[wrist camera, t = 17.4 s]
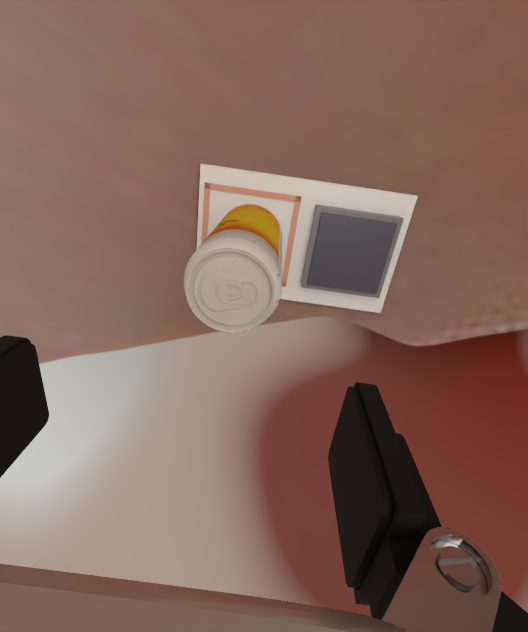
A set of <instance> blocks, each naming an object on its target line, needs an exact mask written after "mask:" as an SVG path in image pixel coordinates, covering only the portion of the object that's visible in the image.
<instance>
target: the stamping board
mask: <svg viewBox="0 0 528 632" xmlns="http://www.w3.org/2000/svg"><path fill="white" fill-rule="evenodd" d="M417 197H418V196H416V195H412V194H406V193H399V192H392V191H385V190H379V189H372V188H365V187H358V186H352V185H345V184H338V183H331V182H325V181H318V180H311V179H305V178H298V177H291V176H284V175H278V174H271V173H264V172H257V171H251V170H244V169H237V168H230V167H224V166H217V165H210V164H203V163H202V164H201V166H200V187H199V208H198V230H197V249H198V248H199V246H200V245H201V244H202V243H203V242H204V240H205V239H206V238H207V237H208V236H209V235H210V233H211V232H212V231H213V230H214V229H215V227H216V226H217V225H218V224H219V223H220V221H221V220H222V219H223V218H224V217H225V216H226V214H227V213H228V212H229V211H231V210H232V209H234V208H235V207H238V206H240V205H245V204H254V205H259V206H262V207H264V208H266V209H267V210H269V211H270V212H271V213H272V214H273V215H274V216H275V217H276V219H277V220H278V222H279V224H280V227H281V231H282V293H281V298H280V299H285V300H292V301H299V302H306V303H313V304H321V305H328V306H335V307H342V308H349V309H356V310H363V311H370V312H377V313H381V310H382V307H383V304H384V301H385V298H386V294H387V291H388V288H389V285H390V282H391V279H392V276H393V272H394V269H395V266H396V263H397V260H398V257H399V254H400V250H401V247H402V244H403V241H404V238H405V235H406V232H407V229H408V225H409V222H410V219H411V216H412V213H413V210H414V207H415V203H416V200H417Z"/></svg>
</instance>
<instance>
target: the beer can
mask: <svg viewBox="0 0 528 632" xmlns="http://www.w3.org/2000/svg"><path fill="white" fill-rule="evenodd" d="M183 283H184V290H185V294H186V298H187V301H188V304H189V306H190V308H191V310H192V312H193V313H194V314H195V316H196V317H197V318H198V319H199V320H200V321H201V322H203V323H204V324H205V325H207V326H209V327H210V328H212V329H215V330H218V331H221V332H226V333H240V332H245V331H248V330H250V329H253V328H255V327H257V326H258V325H260V324H261V323H262V322H264V321H265V320H266V319H267V318H269V317H270V316H271V314H272V313H273V312H274V311H275V309H276V307H277V306H278V303H279V301H280V298H281V293H282V231H281V227H280V224H279V222H278V220H277V219H276V217H275V216H274V215H273V214H272V213H271V212H270V211H269V210H267V209H266V208H264V207H262V206H259V205H254V204H245V205H240V206H238V207H235V208H234V209H232V210H231V211H229V212H228V213H227V214H226V216H225V217H224V218H223V219H222V220H221V221H220V223H219V224H218V225H217V226H216V227H215V229H214V230H213V231H212V232H211V233H210V235H209V236H208V237H207V238H206V239H205V240H204V242H203V243H202V244H201V245H200V246H199V248H198V249H197V250H196V251H195V252H194V254H193V255H192V256H191V258H190V259H189V261H188V263H187V265H186V268H185V272H184V282H183Z"/></svg>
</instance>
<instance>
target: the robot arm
mask: <svg viewBox="0 0 528 632" xmlns="http://www.w3.org/2000/svg"><path fill="white" fill-rule="evenodd" d="M48 417H49V411H48V406H47V402H46V397H45V392H44V387H43V383H42V377H41V372H40V367H39V362H38V357H37V352H36V348H35V346H34V345H33V344H31V342H30V341H29V339H27V338H22V337H15V336H2V337H0V477H1V476H2V475H3V474H4V473H5V471H6V470H7V469H8V468H9V467H10V466H11V464H12V463H13V462H14V461H15V460H16V459H17V457H18V456H19V455H20V454H21V453H22V451H23V450H24V449H25V448H26V447H27V446H28V445H29V443H30V442H31V441H32V440H33V439H34V438H35V436H36V435H37V434H38V433H39V432H40V431H41V429H42V428H43V427H44V426H45V424H46V422H47V421H48ZM328 461H329V469H330V476H331V483H332V490H333V497H334V503H335V511H336V517H337V524H338V531H339V537H340V545H341V552H342V558H343V565H344V572H345V579H346V583H347V585H348V587H352V588H354V594H355V599H356V604H363V605H370V610H371V615H372V617H373V618H372V617H369V616H366V615H361V614H357V613H352V612H347V611H342V610H337V609H332V608H327V607H321V606H314V605H307V604H301V603H294V602H288V601H281V600H274V599H268V598H261V597H255V596H247V595H239V594H232V593H223V592H216V591H209V590H201V589H194V588H186V587H178V586H170V585H163V584H156V583H148V582H140V581H132V580H125V579H116V578H109V577H101V576H93V575H85V574H77V573H69V572H61V571H53V570H45V569H37V568H29V567H21V566H13V565H5V564H0V632H528V613H527V612H526V611H524V610H523V609H522V608H521V607H520V606H519V605H517V604H516V603H515V602H514V601H513V600H511V599H510V598H509V597H508V596H507V595H505V594H504V593H503V592H502V591H501V580H500V577H499V574H498V571H497V569H496V567H495V565H494V564H493V562H492V560H491V559H490V557H489V556H488V555H487V554H486V553H485V551H484V550H483V549H482V548H481V547H480V546H479V545H478V544H477V543H476V542H474V541H473V540H472V539H470V538H469V537H468V536H466V535H464V534H463V533H461V532H459V531H456V530H454V529H451V528H448V527H442V526H441V524H440V522H439V519H438V517H437V514H436V512H435V510H434V507H433V505H432V502H431V500H430V498H429V495H428V493H427V491H426V488H425V486H424V483H423V481H422V479H421V476H420V474H419V471H418V469H417V467H416V464H415V462H414V460H413V457H412V455H411V452H410V450H409V448H408V445H407V443H406V440H405V439H404V437H403V436H402V435H401V434H398V433H395V431H394V428H393V426H392V423H391V420H390V418H389V415H388V413H387V410H386V408H385V405H384V403H383V400H382V398H381V395H380V393H379V390H378V388H377V386H376V385H372V384H365V383H356V384H355V385H354V387H348V389H347V392H346V396H345V399H344V402H343V406H342V409H341V412H340V416H339V419H338V422H337V426H336V429H335V433H334V436H333V439H332V442H331V446H330V449H329V456H328Z"/></svg>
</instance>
